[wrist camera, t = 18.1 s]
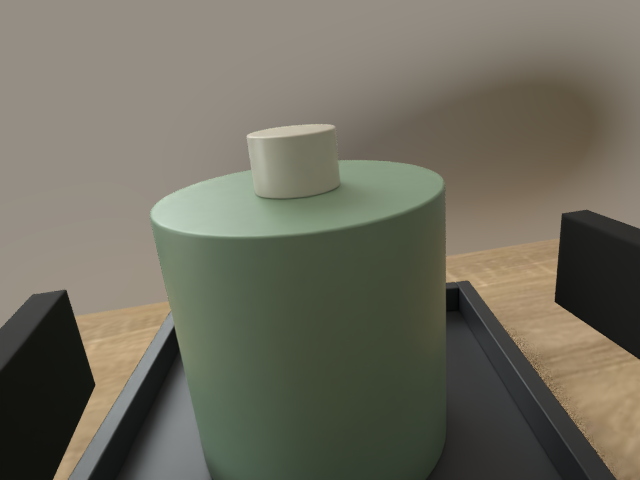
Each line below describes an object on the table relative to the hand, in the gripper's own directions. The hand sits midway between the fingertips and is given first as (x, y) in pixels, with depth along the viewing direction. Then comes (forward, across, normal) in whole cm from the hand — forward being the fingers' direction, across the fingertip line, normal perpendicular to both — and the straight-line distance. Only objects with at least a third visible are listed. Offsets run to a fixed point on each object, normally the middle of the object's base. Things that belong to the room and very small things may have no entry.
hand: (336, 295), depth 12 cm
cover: (+5, 0, -8) cm, 10 cm away
